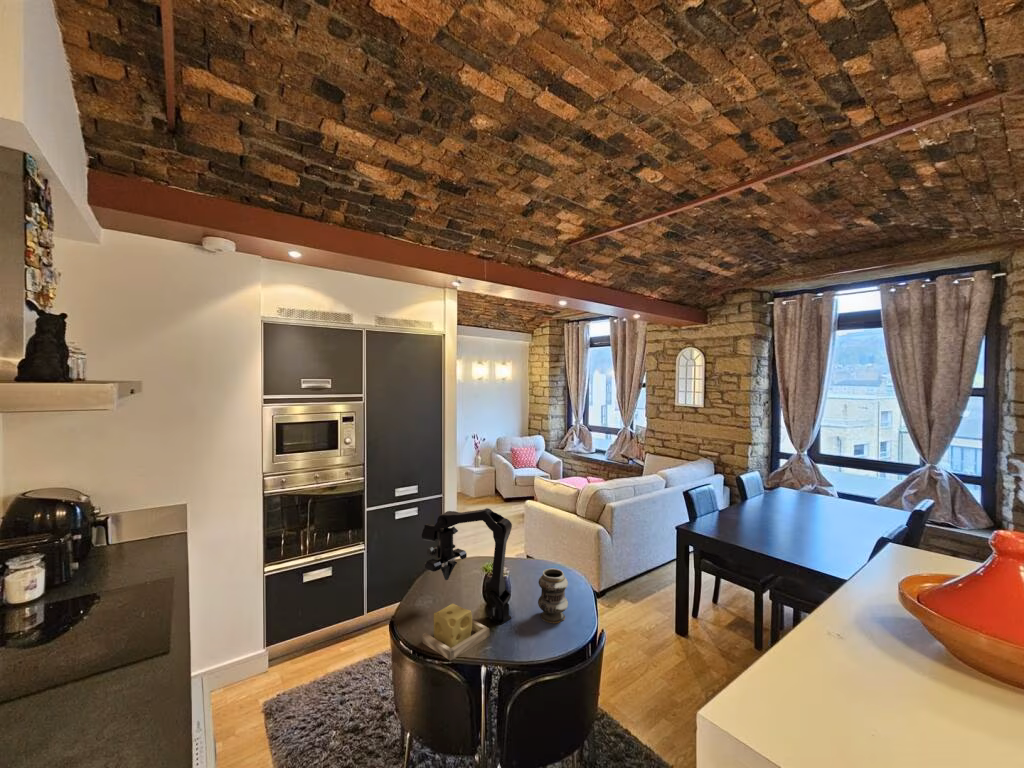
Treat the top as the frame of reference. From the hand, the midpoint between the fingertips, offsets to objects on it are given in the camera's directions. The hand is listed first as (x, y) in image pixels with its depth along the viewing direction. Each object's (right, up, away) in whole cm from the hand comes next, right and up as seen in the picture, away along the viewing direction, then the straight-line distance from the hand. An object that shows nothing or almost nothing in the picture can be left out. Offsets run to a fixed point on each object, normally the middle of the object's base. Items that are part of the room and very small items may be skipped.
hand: (446, 579), depth 183 cm
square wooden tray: (+6, -12, -22) cm, 26 cm away
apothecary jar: (+44, -12, -7) cm, 46 cm away
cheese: (+5, -13, -21) cm, 25 cm away
